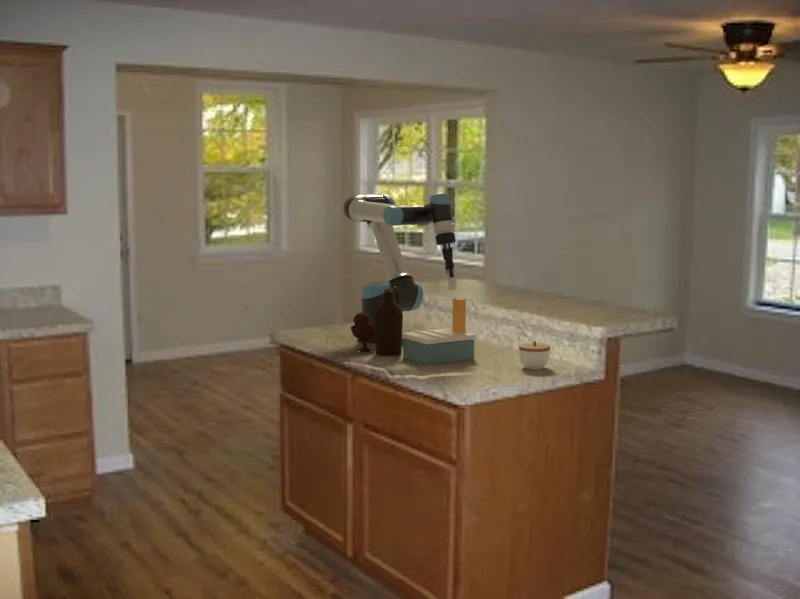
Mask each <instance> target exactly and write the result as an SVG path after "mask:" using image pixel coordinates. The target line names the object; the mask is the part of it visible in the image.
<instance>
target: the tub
mask: <svg viewBox="0 0 800 599" xmlns="http://www.w3.org/2000/svg"><path fill="white" fill-rule="evenodd" d="M402 346H403V348H402V351H403V352H402V358H405V359H407V360H410V361H413V362H416V363H419V364H422V365H424V366H430V365H431V366H432V365H438V364H439V365H440V364H445V363H446V364H448V363H455V362H456V363H457V362H464V361H471V360H475V339H472V340H463V341H454V342H445V343H436V344H427V345H426V344H423V343H420V342H416V341H413V340H409V339H406V338H402Z"/></svg>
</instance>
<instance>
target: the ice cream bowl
mask: <svg viewBox="0 0 800 599" xmlns="http://www.w3.org/2000/svg"><path fill="white" fill-rule="evenodd" d="M353 323H354V325H351V326H350V331H351V333H352V335H353V336H354V337H355V338H356V339H357V340H358V339H359V340H361V341H360V342H362V347H360V348H358V350H357V352H358V351H360V352H359V353H361V352H368V353H371V352H370V351H372V349H371V348H369V347H368V343H369V342H368V340H371V339H372V338H374V337H375V325H374V320H373V319H372V318H371V317H369V316H368V315H367V314H366V313H362V312H358V313H356V315H354V317H353ZM359 340H358V341H359ZM372 352H373V351H372Z"/></svg>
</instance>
